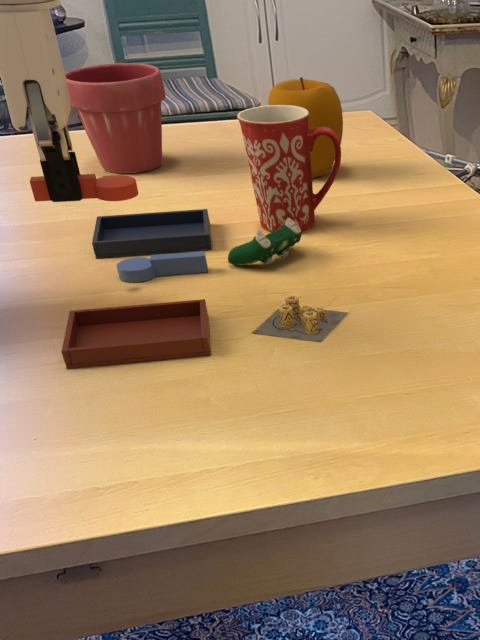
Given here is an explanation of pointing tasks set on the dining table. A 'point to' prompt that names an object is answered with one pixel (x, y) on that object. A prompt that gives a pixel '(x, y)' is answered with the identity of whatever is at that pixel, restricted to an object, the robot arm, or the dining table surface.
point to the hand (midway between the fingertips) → (67, 195)
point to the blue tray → (152, 233)
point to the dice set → (300, 321)
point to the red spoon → (93, 187)
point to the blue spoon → (161, 266)
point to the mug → (284, 163)
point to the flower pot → (120, 113)
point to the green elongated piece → (266, 245)
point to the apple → (314, 115)
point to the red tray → (136, 333)
